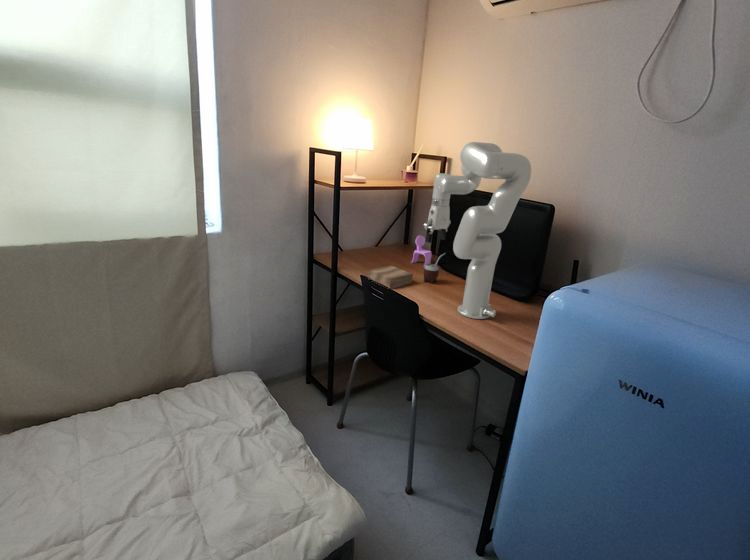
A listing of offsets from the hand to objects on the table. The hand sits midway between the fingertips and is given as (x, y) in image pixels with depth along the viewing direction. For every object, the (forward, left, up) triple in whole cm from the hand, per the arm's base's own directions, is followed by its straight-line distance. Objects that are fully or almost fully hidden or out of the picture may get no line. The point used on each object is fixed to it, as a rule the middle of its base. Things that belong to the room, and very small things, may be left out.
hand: (435, 240), depth 184 cm
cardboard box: (+11, +16, -20) cm, 28 cm away
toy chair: (+22, -18, -20) cm, 34 cm away
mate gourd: (0, 0, -20) cm, 20 cm away
